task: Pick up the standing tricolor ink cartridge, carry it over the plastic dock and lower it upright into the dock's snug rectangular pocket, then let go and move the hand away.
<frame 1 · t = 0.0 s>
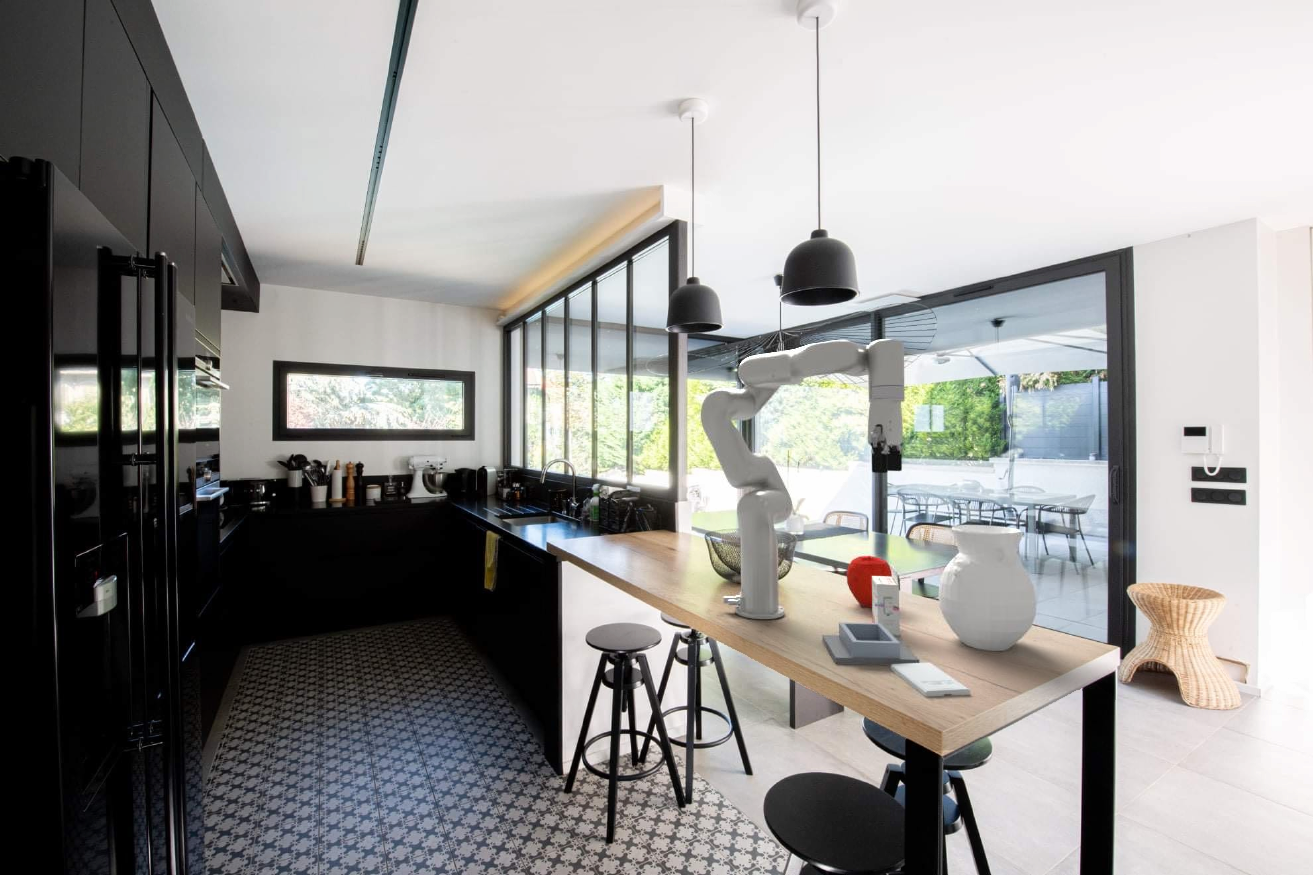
hand: (887, 471, 132), 37 cm above the table, tool pointing down, fingers open, 9 cm apart
external hard drive: (928, 685, 108), on the table
ink cartridge box: (885, 630, 138), on the table
white vase: (986, 644, 128), on the table
apple: (869, 606, 159), on the table
dock: (867, 652, 123), on the table
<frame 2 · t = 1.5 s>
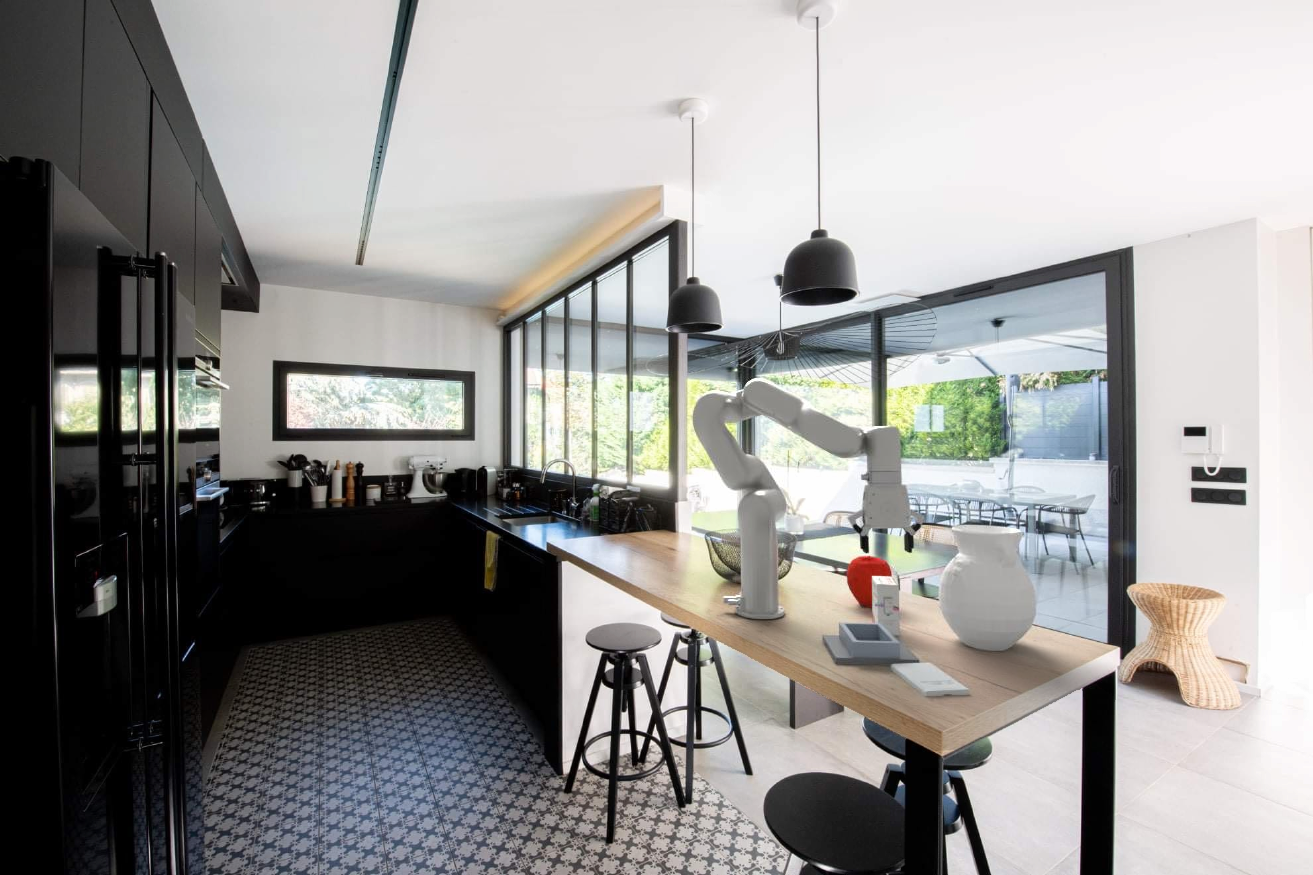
hand: (886, 552, 138), 18 cm above the table, tool pointing down, fingers open, 9 cm apart
nothing on the table moved.
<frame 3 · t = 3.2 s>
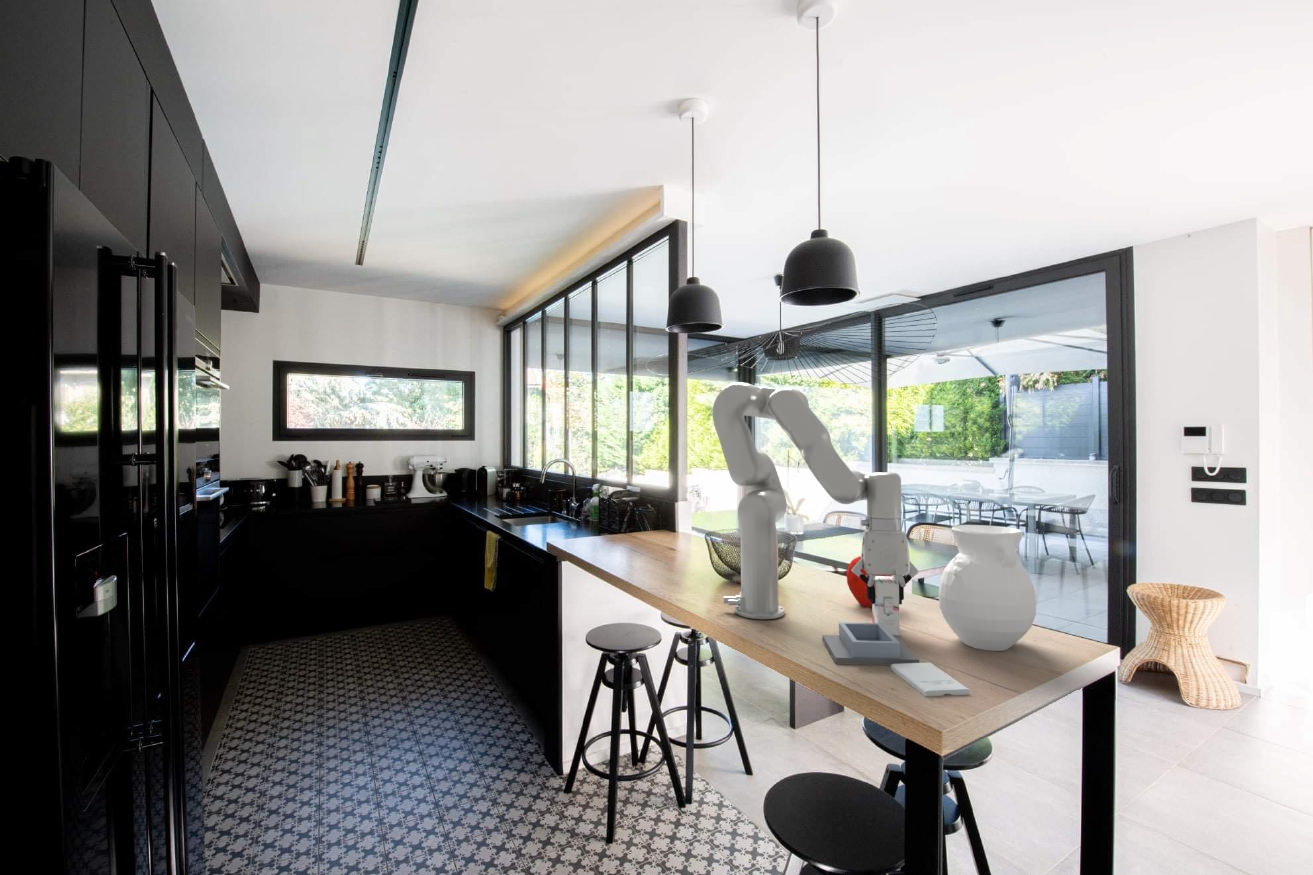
hand: (885, 601, 138), 7 cm above the table, tool pointing down, fingers closed on ink cartridge box, 5 cm apart
ink cartridge box: (885, 630, 138), on the table, touching gripper
everything else where it was.
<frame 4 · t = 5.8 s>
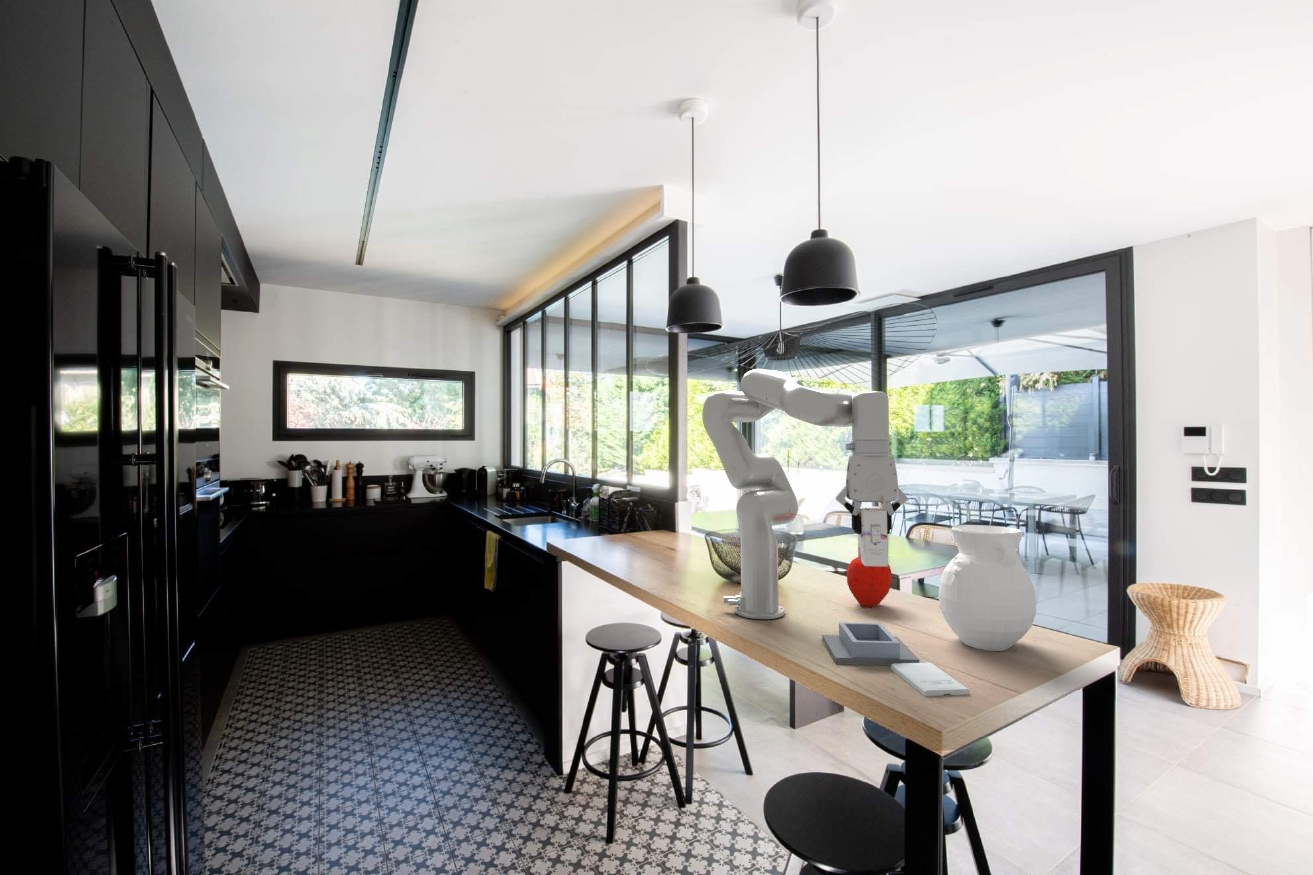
hand: (871, 532, 127), 24 cm above the table, tool pointing down, fingers closed on ink cartridge box, 5 cm apart
ink cartridge box: (872, 563, 127), point 18 cm above the table, touching gripper
everything else where it was.
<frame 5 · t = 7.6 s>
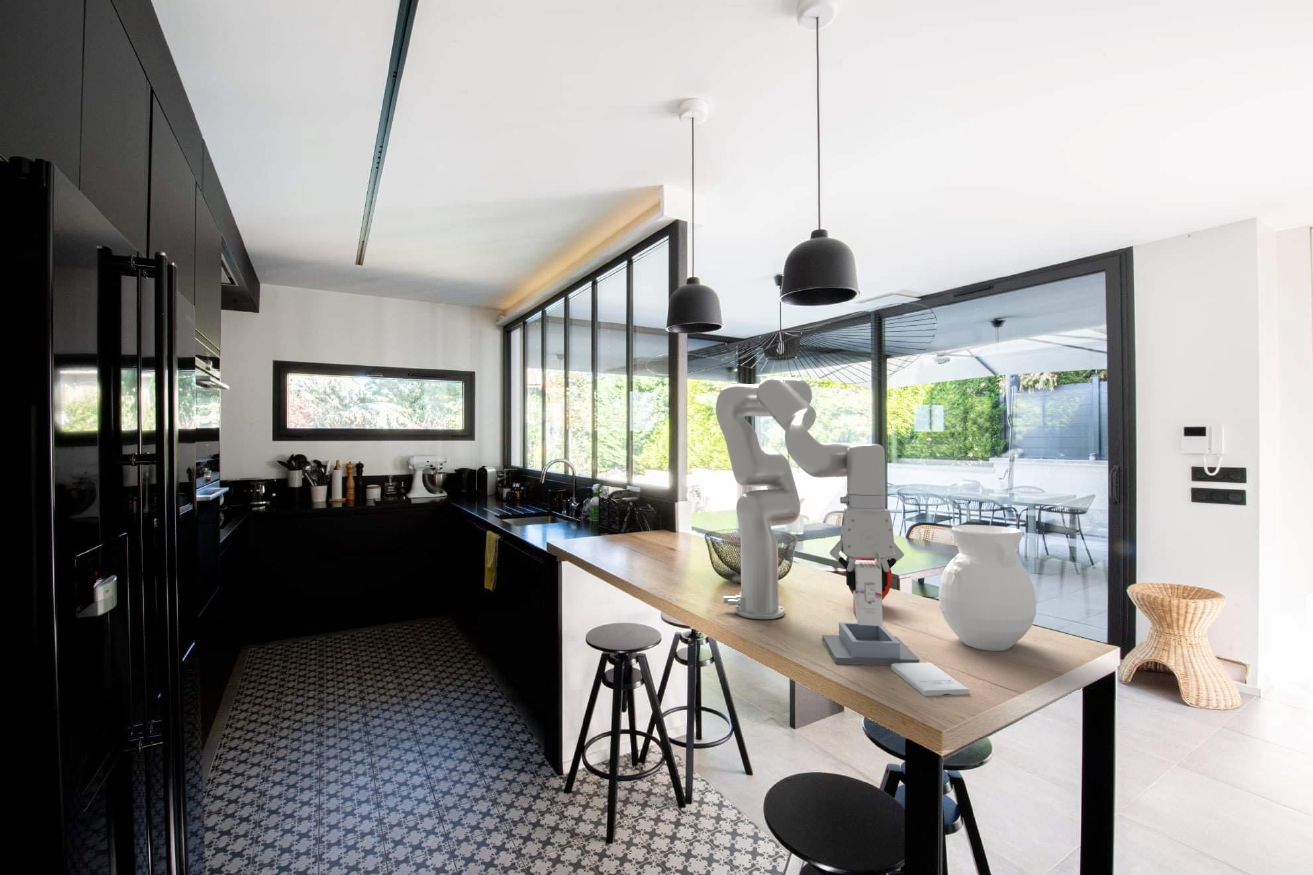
hand: (866, 588, 123), 13 cm above the table, tool pointing down, fingers closed on ink cartridge box, 5 cm apart
ink cartridge box: (867, 620, 123), point 7 cm above the table, touching gripper
everything else where it was.
when the fingers open (9 cm above the table, at t = 8.9 s): ink cartridge box drops 1 cm, resting on dock.
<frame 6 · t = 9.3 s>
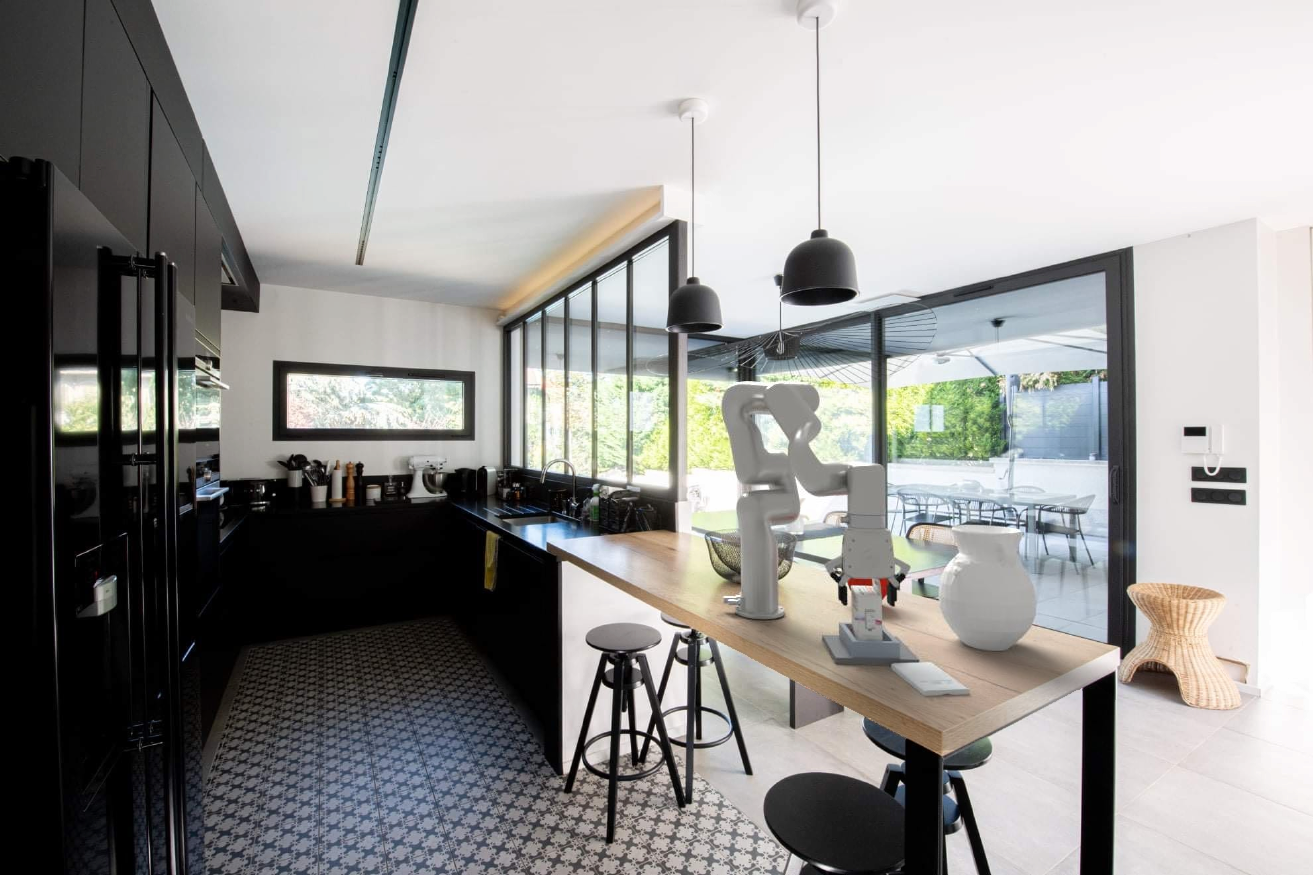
hand: (867, 604, 123), 10 cm above the table, tool pointing down, fingers open, 9 cm apart
ink cartridge box: (866, 647, 123), point 1 cm above the table, touching dock
everything else where it was.
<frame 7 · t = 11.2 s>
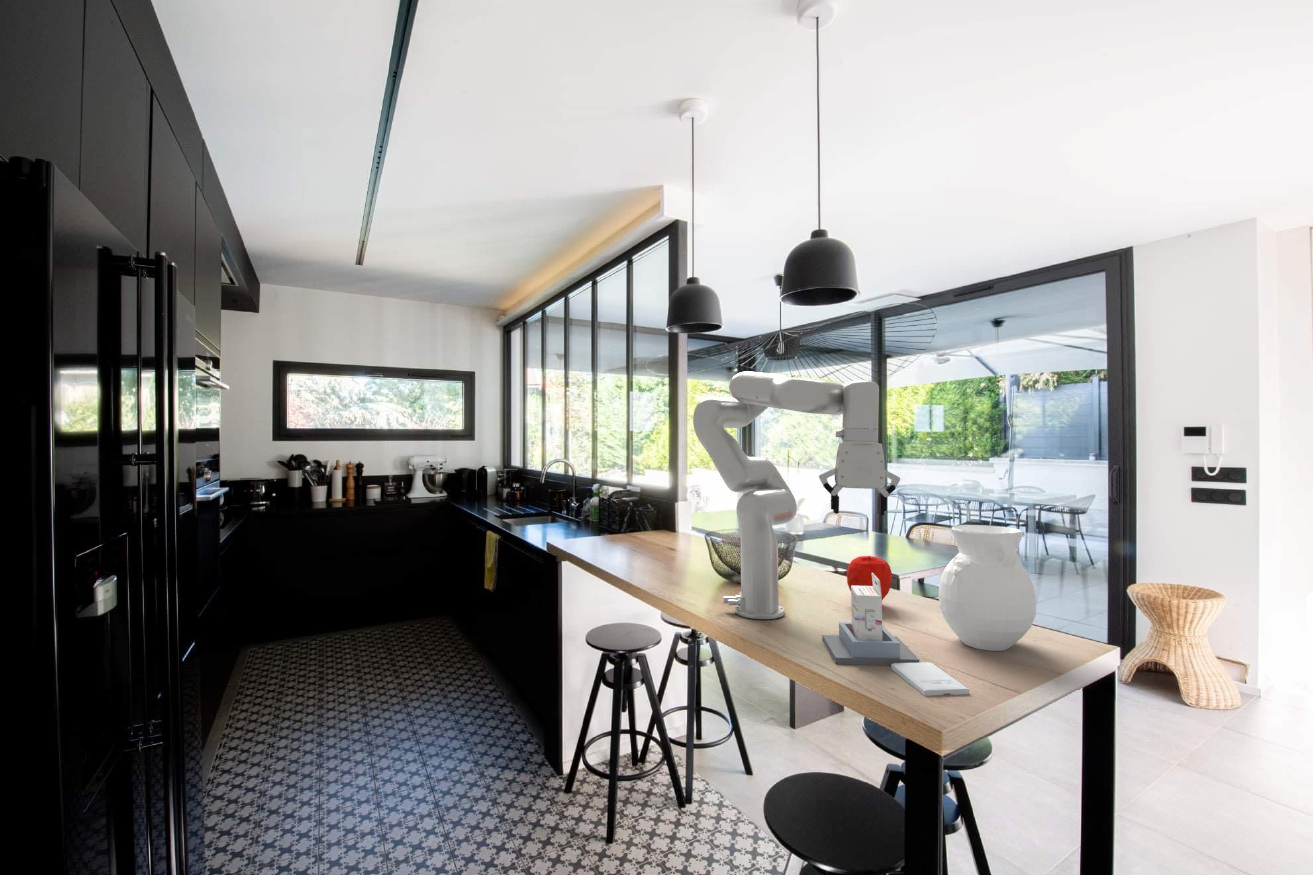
hand: (858, 513, 131), 28 cm above the table, tool pointing down, fingers open, 9 cm apart
nothing on the table moved.
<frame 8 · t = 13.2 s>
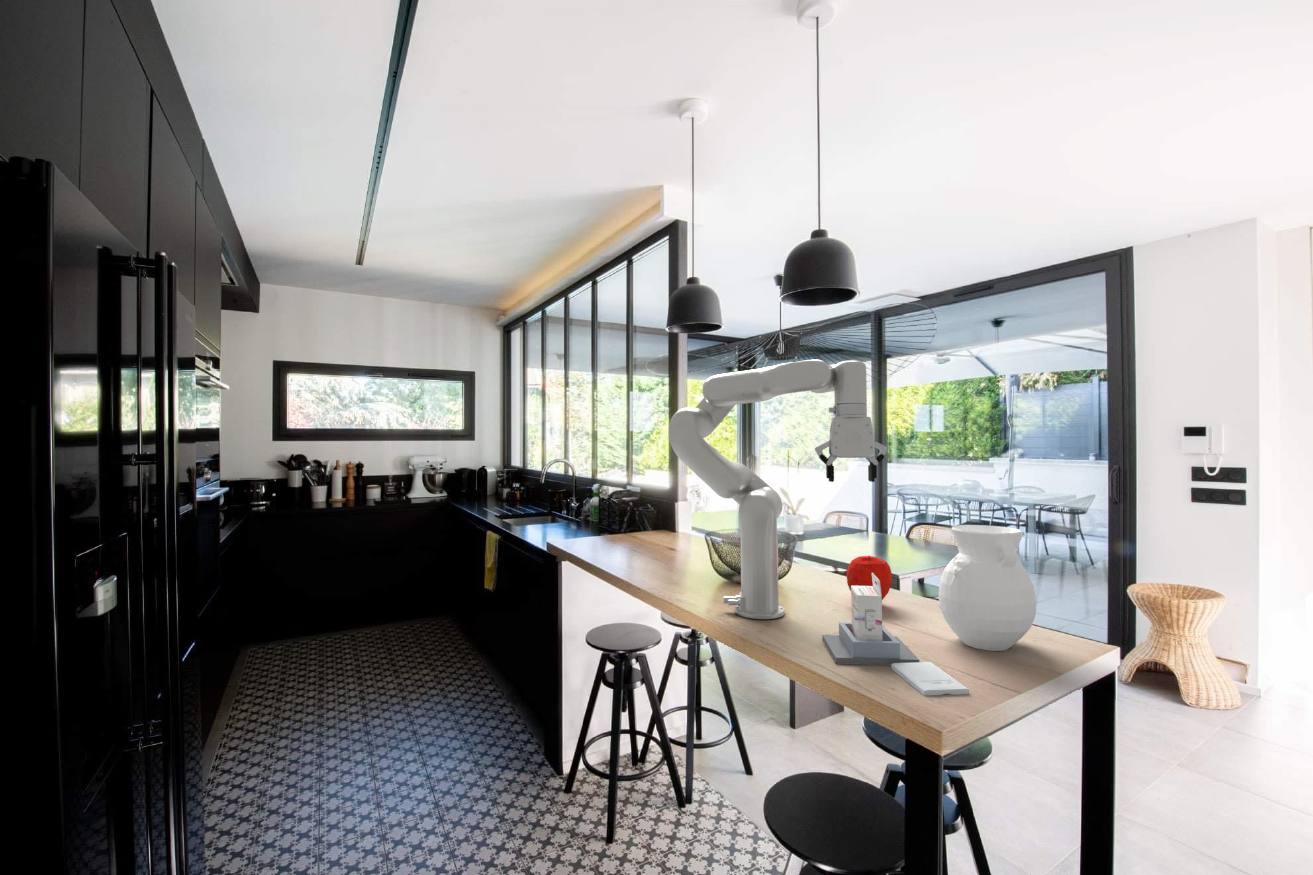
hand: (851, 481, 145), 34 cm above the table, tool pointing down, fingers open, 9 cm apart
nothing on the table moved.
at the end: ink cartridge box 0.4 cm off-centre on the dock, point 1.0 cm above the dock's base; ink cartridge box tilted 0°; the gripper is holding nothing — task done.
